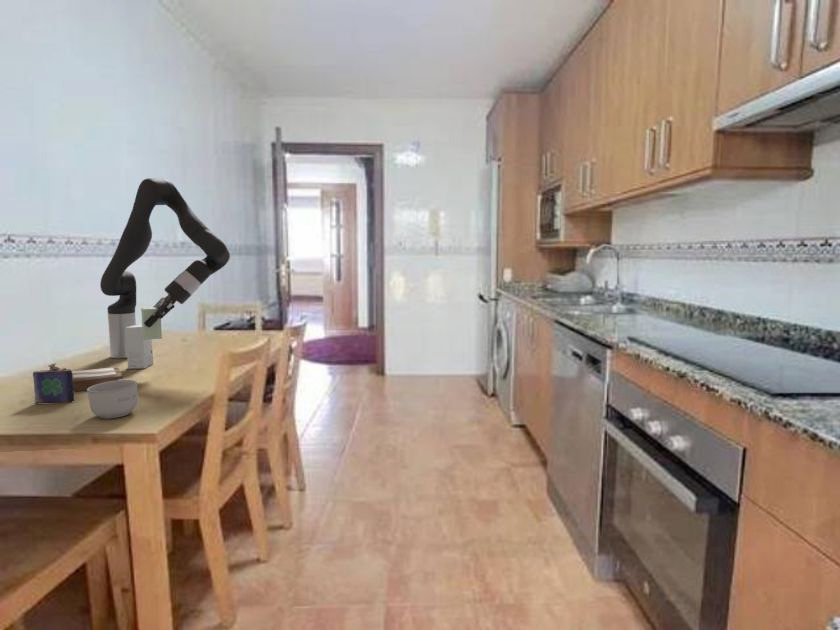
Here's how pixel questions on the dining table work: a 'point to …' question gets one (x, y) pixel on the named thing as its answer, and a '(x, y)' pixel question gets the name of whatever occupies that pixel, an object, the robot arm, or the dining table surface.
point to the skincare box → (138, 348)
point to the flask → (53, 385)
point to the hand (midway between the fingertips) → (145, 324)
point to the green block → (155, 329)
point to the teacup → (113, 398)
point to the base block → (94, 377)
